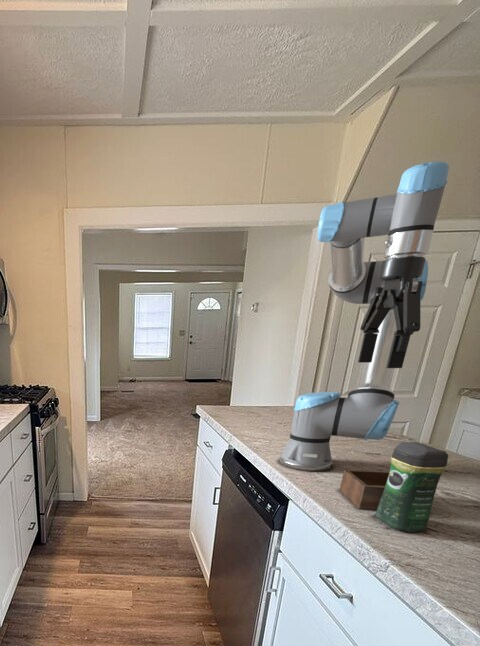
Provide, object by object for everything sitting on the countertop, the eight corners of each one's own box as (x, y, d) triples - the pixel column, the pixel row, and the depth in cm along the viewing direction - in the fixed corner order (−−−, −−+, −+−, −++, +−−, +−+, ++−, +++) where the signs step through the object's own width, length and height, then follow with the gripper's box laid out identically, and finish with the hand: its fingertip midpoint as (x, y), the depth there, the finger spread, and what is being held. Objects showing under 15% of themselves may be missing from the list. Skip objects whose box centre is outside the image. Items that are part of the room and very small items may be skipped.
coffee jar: (432, 533, 87) (461, 450, 80) (396, 533, 87) (421, 451, 80) (401, 514, 96) (424, 439, 89) (368, 515, 96) (388, 439, 89)
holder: (339, 490, 111) (344, 469, 109) (399, 493, 109) (405, 472, 106) (359, 509, 99) (364, 486, 97) (426, 512, 97) (434, 489, 95)
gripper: (357, 266, 95) (338, 360, 103) (419, 248, 72) (388, 371, 81) (392, 265, 94) (370, 360, 102) (465, 246, 71) (429, 370, 80)
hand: (378, 365), depth 91 cm, fingers open, 13 cm apart
